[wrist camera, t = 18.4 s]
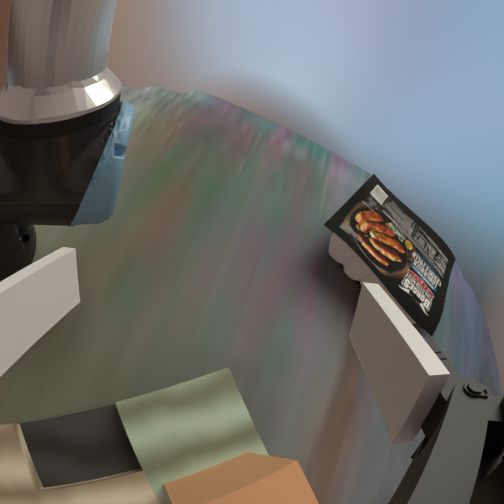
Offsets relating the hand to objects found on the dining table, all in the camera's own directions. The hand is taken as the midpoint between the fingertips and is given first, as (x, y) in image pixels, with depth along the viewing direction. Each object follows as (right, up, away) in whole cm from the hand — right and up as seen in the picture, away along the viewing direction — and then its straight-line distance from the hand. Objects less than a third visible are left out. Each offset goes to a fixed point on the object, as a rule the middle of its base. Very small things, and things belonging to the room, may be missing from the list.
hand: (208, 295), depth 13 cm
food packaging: (+26, 0, +43) cm, 50 cm away
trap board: (-14, -28, +9) cm, 33 cm away
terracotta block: (-1, -24, +12) cm, 27 cm away
